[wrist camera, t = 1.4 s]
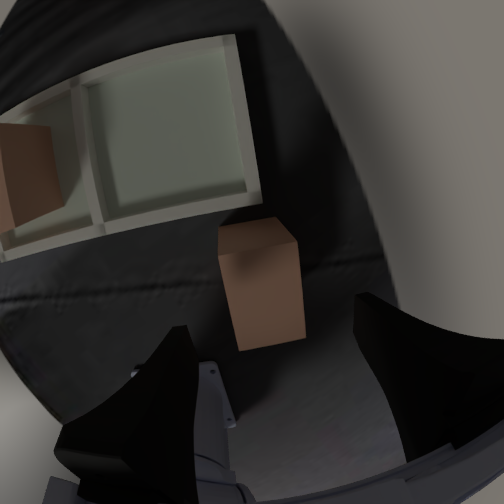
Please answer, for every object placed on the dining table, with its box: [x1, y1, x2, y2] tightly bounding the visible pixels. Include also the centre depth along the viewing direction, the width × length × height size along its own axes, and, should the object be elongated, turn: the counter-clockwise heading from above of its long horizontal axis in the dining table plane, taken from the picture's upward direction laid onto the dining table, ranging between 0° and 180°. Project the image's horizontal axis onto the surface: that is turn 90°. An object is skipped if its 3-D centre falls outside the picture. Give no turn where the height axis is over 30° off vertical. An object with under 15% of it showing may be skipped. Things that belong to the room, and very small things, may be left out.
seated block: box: [0, 123, 64, 234], centre depth 13 cm, size 6×4×6 cm, turn 9°
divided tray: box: [0, 34, 263, 263], centre depth 16 cm, size 11×21×2 cm, turn 99°
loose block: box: [218, 217, 306, 351], centre depth 18 cm, size 6×4×6 cm, turn 9°
